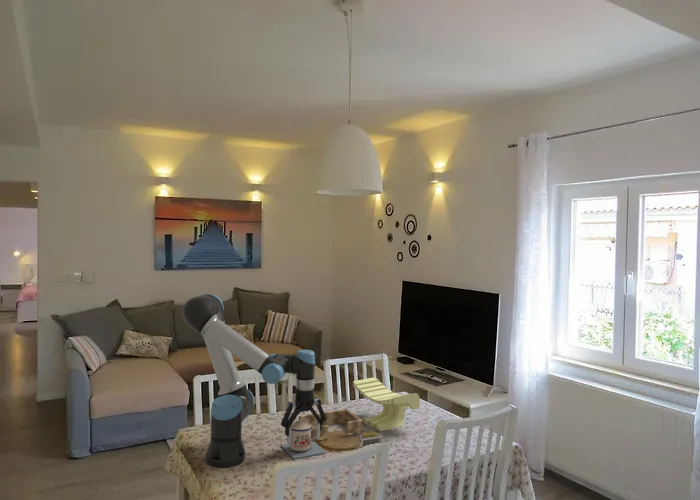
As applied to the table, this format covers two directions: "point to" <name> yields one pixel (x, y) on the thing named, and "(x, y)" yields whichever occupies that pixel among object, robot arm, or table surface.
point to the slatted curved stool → (386, 403)
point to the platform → (370, 438)
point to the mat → (311, 451)
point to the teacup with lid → (301, 435)
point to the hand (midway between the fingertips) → (303, 440)
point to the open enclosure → (335, 422)
